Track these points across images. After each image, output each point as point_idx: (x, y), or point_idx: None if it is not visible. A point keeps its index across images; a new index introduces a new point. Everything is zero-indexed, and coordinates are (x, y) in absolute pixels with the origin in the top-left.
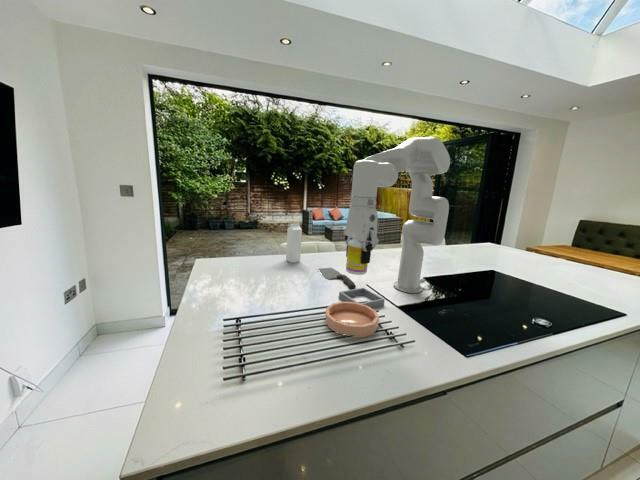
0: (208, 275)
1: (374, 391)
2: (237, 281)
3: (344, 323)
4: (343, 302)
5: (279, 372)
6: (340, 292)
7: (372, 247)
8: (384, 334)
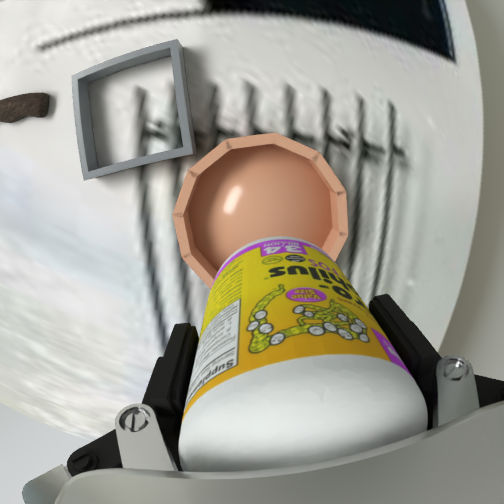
0: (23, 404)
1: (450, 287)
2: (31, 379)
3: None
4: (180, 215)
5: None
6: (88, 178)
7: (489, 391)
8: (346, 157)
